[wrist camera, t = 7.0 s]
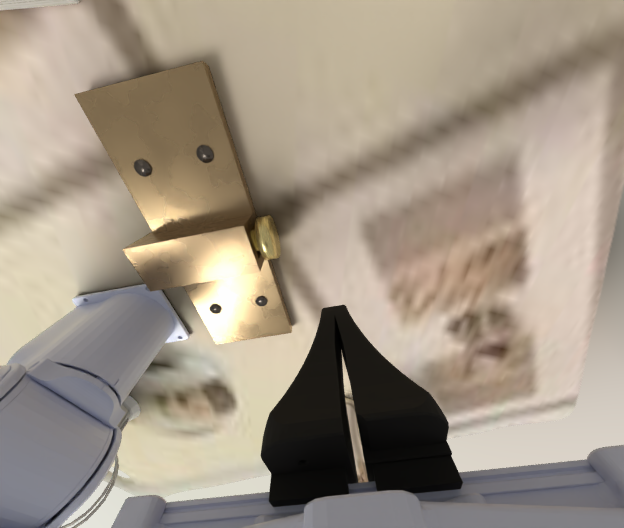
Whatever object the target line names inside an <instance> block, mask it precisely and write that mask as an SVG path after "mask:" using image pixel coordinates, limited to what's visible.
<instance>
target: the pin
mask: <svg viewBox="0 0 624 528" xmlns="http://www.w3.org/2000/svg"><path fill="white" fill-rule="evenodd" d="M250 235H251V238H252V240H253V243H254V246H255V249H256V251H260V253H261V255H262V257H263V258H264V259H265V260H270V259H275V258H279V257H280V242H279V236H278V232H277V228H276V225H275V222H274V220H273V218H272V217H271V216H270V215H268V216H263V217H258V218H256V220H255V230H251V231H250Z"/></svg>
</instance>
